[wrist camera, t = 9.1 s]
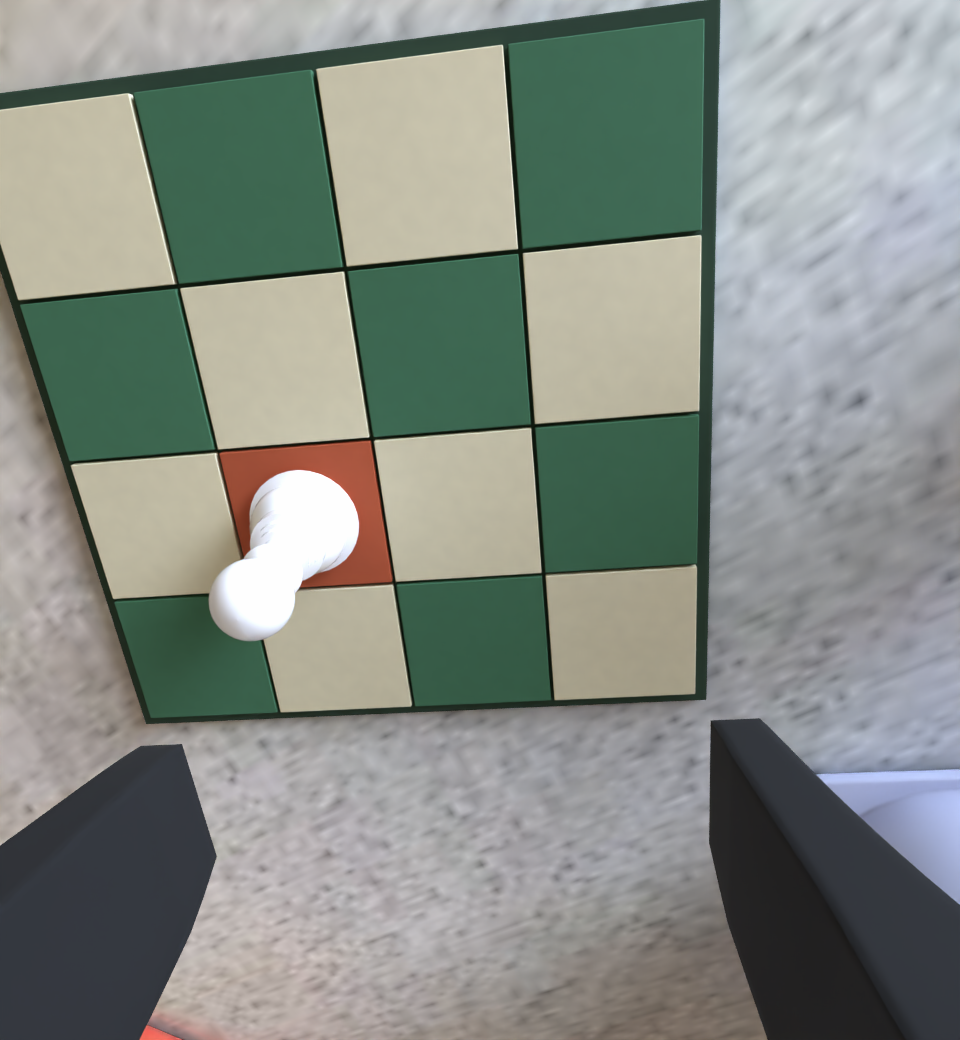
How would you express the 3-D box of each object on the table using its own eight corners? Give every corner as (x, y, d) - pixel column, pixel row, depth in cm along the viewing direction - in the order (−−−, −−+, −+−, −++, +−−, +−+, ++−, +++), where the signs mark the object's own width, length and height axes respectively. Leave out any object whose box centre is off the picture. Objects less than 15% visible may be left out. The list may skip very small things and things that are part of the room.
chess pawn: (343, 458, 18) (279, 535, 13) (372, 559, 19) (323, 664, 14) (237, 479, 18) (140, 561, 14) (272, 577, 19) (192, 684, 15)
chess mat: (704, 695, 20) (708, 704, 20) (149, 720, 22) (142, 728, 22) (718, 0, 14) (723, -5, 14) (-49, 101, 16) (-62, 98, 16)
